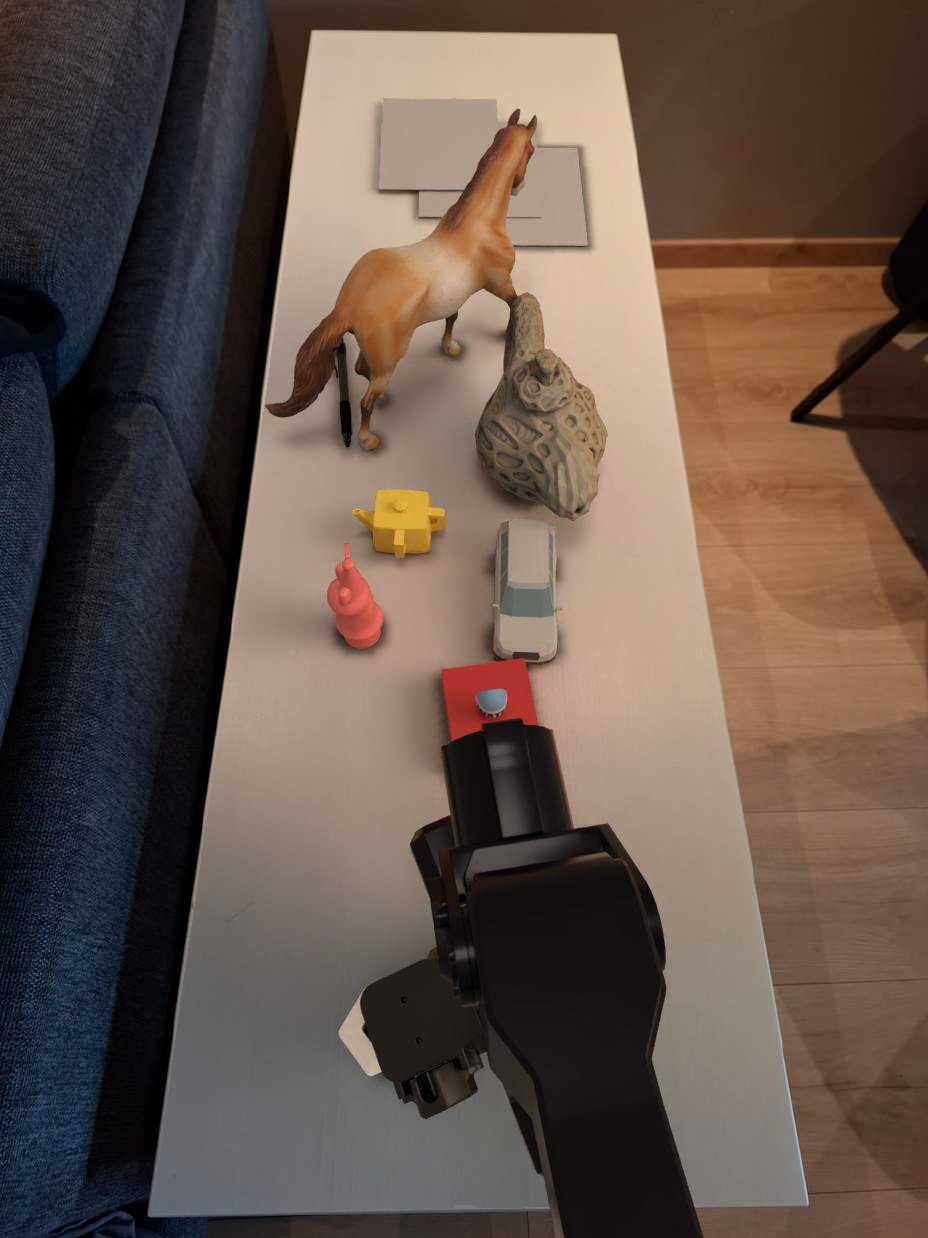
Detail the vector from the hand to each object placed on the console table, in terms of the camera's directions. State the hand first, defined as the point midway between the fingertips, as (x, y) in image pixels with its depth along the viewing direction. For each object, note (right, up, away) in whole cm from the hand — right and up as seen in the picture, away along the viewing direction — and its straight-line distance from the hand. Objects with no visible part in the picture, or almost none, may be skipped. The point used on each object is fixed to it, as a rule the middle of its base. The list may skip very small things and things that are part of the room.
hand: (509, 983), depth 55 cm
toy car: (+2, +25, +20) cm, 32 cm away
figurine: (-12, +22, +19) cm, 31 cm away
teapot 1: (-9, +30, +23) cm, 39 cm away
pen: (-15, +45, +30) cm, 57 cm away
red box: (-1, +15, +15) cm, 21 cm away
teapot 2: (+4, +38, +27) cm, 46 cm away
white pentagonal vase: (-8, -6, +5) cm, 11 cm away
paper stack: (-1, +76, +46) cm, 88 cm away
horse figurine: (-9, +48, +32) cm, 58 cm away
